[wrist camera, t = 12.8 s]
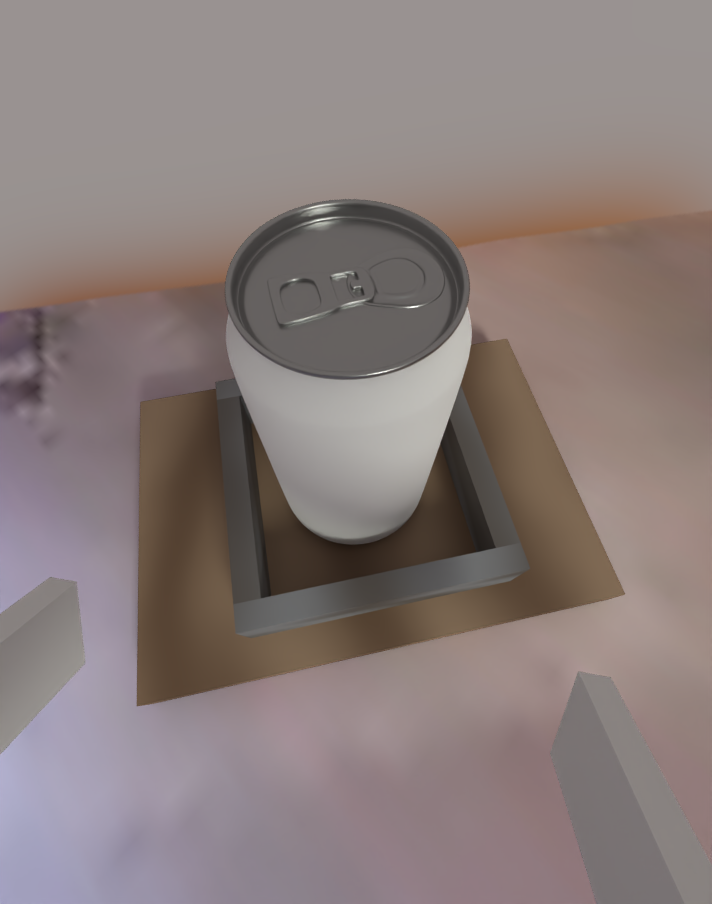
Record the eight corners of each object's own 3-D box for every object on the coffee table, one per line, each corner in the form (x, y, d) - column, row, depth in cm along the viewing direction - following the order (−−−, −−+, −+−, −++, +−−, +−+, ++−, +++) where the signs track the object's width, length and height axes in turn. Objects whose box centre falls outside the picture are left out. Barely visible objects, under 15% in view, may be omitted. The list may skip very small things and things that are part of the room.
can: (442, 525, 20) (539, 353, 9) (301, 565, 19) (226, 428, 8) (397, 408, 23) (432, 169, 12) (273, 438, 22) (190, 213, 11)
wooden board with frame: (499, 355, 26) (521, 305, 22) (607, 599, 20) (661, 583, 16) (152, 417, 24) (116, 372, 21) (153, 703, 18) (102, 711, 15)
